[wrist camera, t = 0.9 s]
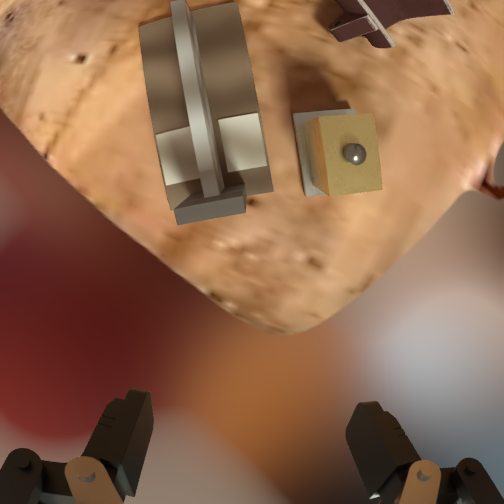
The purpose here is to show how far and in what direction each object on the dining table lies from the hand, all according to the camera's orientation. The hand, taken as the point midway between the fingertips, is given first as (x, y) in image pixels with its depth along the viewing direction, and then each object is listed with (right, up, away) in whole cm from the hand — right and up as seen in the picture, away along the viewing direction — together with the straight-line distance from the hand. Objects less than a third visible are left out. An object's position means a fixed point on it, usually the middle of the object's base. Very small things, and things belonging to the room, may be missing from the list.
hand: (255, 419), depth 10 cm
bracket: (+14, +33, +11) cm, 37 cm away
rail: (-5, +21, +15) cm, 26 cm away
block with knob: (+7, +16, +16) cm, 23 cm away
